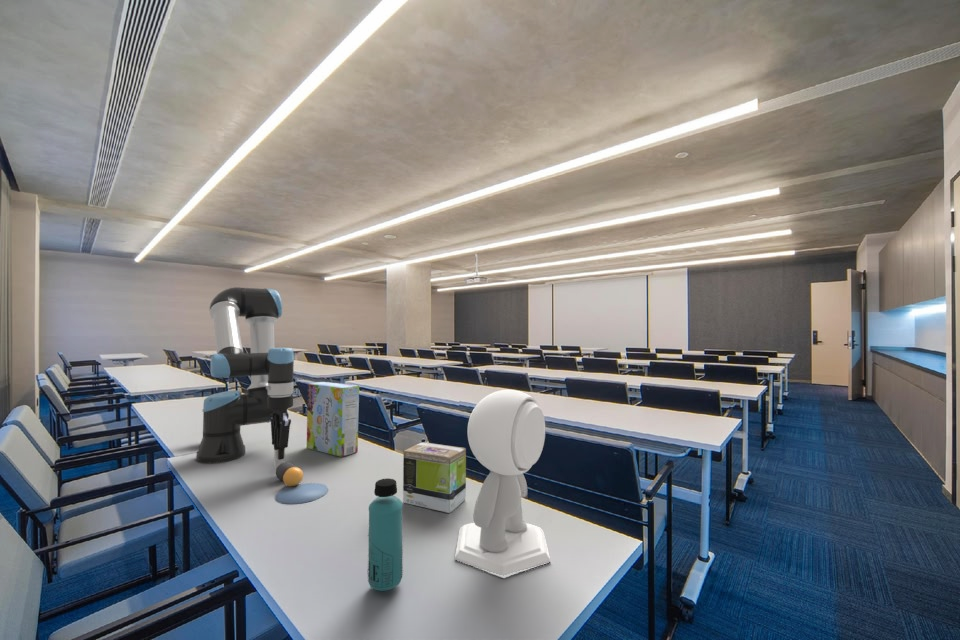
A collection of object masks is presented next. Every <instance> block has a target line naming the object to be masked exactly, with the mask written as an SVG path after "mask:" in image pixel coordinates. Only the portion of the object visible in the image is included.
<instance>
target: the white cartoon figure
mask: <svg viewBox="0 0 960 640" xmlns="http://www.w3.org/2000/svg"><path fill="white" fill-rule="evenodd" d="M545 420H546V419H545V415H544V413H543V411H542V409H541V407H540V406H539V403H538V402H537V400H536V399H535V398H534V397H533V396H532V395H530V394H528V393H526V392H523V391H520V390H516V389H500V390H496V391H494V392H492V393H491V392H490V393H489V394H487V395H486V396H484V397H483V398H482V399H481V400H479V402H477V404H476V405H475V406H474V408H473V410H472V411H471V413H470V416H469V419H468V423H467V428H466V429H467V433H466V434H467V440H468V444H469V447H470V450H471V452H472V454H473V456H474V457H475V458H476V460H477V461H478V462H479V463H480V464H481V465H482V466H483V467H484V468H486V469H488V470H489V473H488V475H487V476H486V478H485V479H484V481H483V482H482V486H481V488H480V490H479V493H478V496H477V498H476V500H475V505H474V507H473V508H474V509H473V513H472V514H473V515H472V516H473V522H470V523H467V524H463V525H462V526H461V527H460V528H459V531H458V537H457V543H456V550H455V554H454V555H455V556H454V560H455V561H456V560H457V562H459V561H460V562H459V563H461V562H463V563H462V564H464V563H465V564H464V565H466V564H468V565H467V566H469V565H472V566H474V567H478V568H480V569H484V570H487V571H489V572H493V573H496V574H499V575H503V576H504V575H507V574H510V573H513V572H517V571H520V570H524V569H528V568H531V567H535V566H538V565H541V564H544V563H548V562H550V563H551V557H550V553H549V552H550V551H549V549H548V548H549V547H548V545H547V540H546V536H545V532H544V530H543V529H542V528H541V527H540V526H537V525H534V524H531V523H528V522H525V520H523V519H524V518H523V508H522V497H527V494H528V485H527V480H526V478H525V475H524V474H526V473H527V472H529V470H530V469H531V468H532V466H533V465H535V464H536V463H537V462H538V461H539V459H540V457H541V454H542V451H543V448H544V446H545V441H546V440H545V439H546V421H545ZM474 567H473V568H474Z"/></svg>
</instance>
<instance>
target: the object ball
mask: <svg viewBox="0 0 960 640" xmlns="http://www.w3.org/2000/svg"><path fill="white" fill-rule="evenodd" d="M303 478H304V472H303V470H302V469H301V468H300V467H298V466H294V467H292V468H289V469H288V470H287V471H286V472H285V473H284V476H283V483H284V485H286V486H287V487H290V486H296V485H298V484H301V482H302V481H303V480H304V479H303Z"/></svg>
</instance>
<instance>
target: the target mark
mask: <svg viewBox="0 0 960 640" xmlns="http://www.w3.org/2000/svg"><path fill="white" fill-rule="evenodd" d="M328 492H329V487H328V486H327V485H325V484H323V483H320V482H319V483H318V482H305V483H299V484H298V485H296V486H287V487H285V488H282V489H281V490H279V491H277V493H276V494H275V496H274V498H275V500H276V501H277V502H278V503H280V502H281V504H284V503H285V504H286V505H297V504H299V503H300V504H304V503H305V502H306V503H309V502H313V501H316V500H318V499H321V498H322V497H324V496H325V495H327V494H328ZM300 504H299V505H300Z"/></svg>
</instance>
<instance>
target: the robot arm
mask: <svg viewBox="0 0 960 640" xmlns="http://www.w3.org/2000/svg"><path fill="white" fill-rule="evenodd" d="M209 315H210V317H211V319H213V326H214V337H215V338H214V339H215V348H216V354H215V353H214V354H212V355H211V357H210V375H211V377H213V378H224V379H225V378H226V379H227V378H235V377H250V380H251V381H250V382H251V383H250V385H249V386H248V387H247V388H246V393H242V392H241V390H227V391H222V392H217V393H213V394H210V395H208V396H206V397H205V399H204V400H203V407H202V412H203V417H202V418H203V419H202V437H201V441H200V444H199V447H198V450H197V452H196V456H195V457H196V459H195V461H197V462H198V463H201V464H216V463H217V464H218V463H225V462H230V461H233V460H236V459H237V460H238V459H239V458H241V456H242V457H243V456H244V455H246V445H245V444H244V440H243V437H242V434H241V426H250V425H256V424H257V425H258V424H266V423H270V431H271V432H270V433H271V444H272V446H273V450H274V455H273V456H274V457H273V458H274V459H273V461H274V462H273V469H274V470H275V471H276V469H277V467H278V466H279V465H280V464H281V463H284V462H286V460H285V458H286V448H288V445H289V437H290V427H291V424H292V420H291V419H292V418H289V413H288V409H290V408H292V407H293V406H294V396H293V394H294V360H295V356H294V355H295V354H294V350H293V348H291V347H275V344H276V343H275V342H276V341H275V324H276V323H277V322H278V321H279V318H281V317H282V315H283V302H282V298H281V295H280V293H279V291H278V290H275V289H271V288H265V287H264V288H258V287H257V288H256V287H238V286H237V287H236V286H234V287H229V288H226V289H224V290H222V291H220V292H219V293H218V294H217V295H215V297H213V299H212V300H211V302H210V305H209ZM239 317H244V318H245V322H246V324H248V325H249V333H250V334H249V337H250V340H249V341H250V347H249V348H250V352H248V353H247V352H246V353H245V352H244V347H243V341H242V337H241V329H240V322H239Z"/></svg>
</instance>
